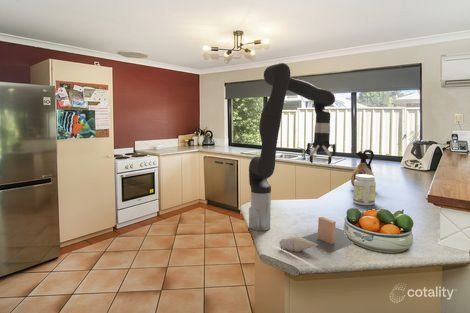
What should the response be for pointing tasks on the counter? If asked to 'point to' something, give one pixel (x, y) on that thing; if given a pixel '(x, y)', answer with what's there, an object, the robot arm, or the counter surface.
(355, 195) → the supplement tub
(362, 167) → the ceramic jug
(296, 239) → the ice cream cone
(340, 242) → the mat
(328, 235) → the tile
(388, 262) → the counter surface
